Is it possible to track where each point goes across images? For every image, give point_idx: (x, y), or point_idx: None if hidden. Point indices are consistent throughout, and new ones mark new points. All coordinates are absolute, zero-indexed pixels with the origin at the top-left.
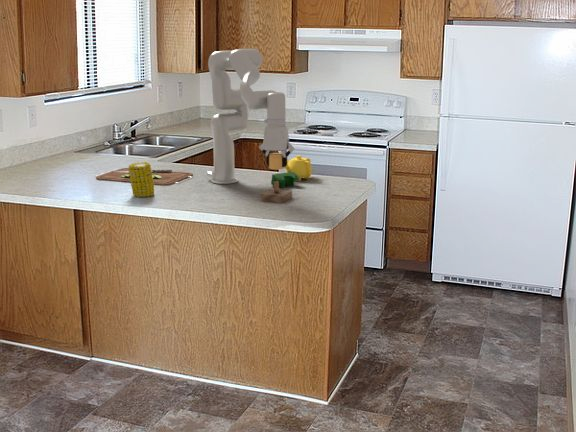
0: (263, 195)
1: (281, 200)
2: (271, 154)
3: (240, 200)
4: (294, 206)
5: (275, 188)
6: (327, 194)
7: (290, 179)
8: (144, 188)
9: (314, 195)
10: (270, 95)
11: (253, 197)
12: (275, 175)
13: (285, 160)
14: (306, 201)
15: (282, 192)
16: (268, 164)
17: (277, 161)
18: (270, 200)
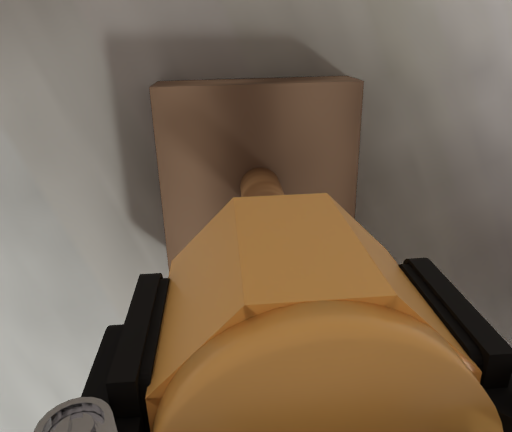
0: (336, 81)
1: (170, 82)
2: (433, 397)
3: (505, 25)
4: (16, 6)
5: (263, 178)
6: (12, 411)
7: None
8: None
9: (71, 362)
10: None
11: (434, 156)
12: None
13: (97, 372)
14: (25, 199)
15: (213, 202)
16: (414, 272)
17: (228, 271)
18: (267, 78)
